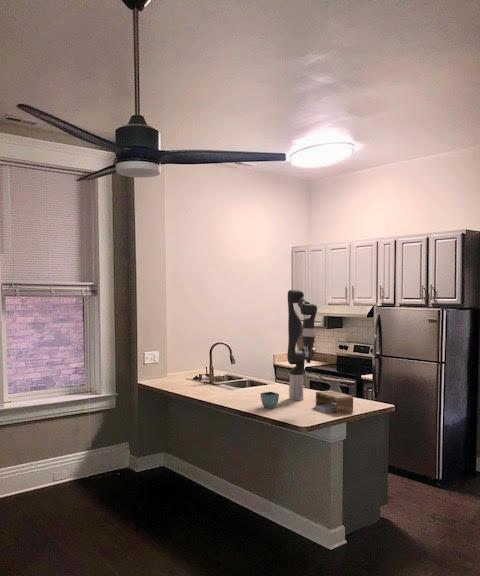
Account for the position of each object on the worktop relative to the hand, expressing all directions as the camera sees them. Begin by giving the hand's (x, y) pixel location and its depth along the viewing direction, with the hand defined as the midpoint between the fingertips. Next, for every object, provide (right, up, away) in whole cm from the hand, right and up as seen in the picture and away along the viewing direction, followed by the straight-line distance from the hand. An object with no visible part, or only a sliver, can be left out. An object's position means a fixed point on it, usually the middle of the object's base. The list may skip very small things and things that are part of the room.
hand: (308, 362), depth 315 cm
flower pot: (-24, -29, +3) cm, 38 cm away
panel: (+13, -29, -4) cm, 32 cm away
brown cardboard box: (+16, -29, -1) cm, 33 cm away
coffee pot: (+19, -30, +28) cm, 45 cm away
